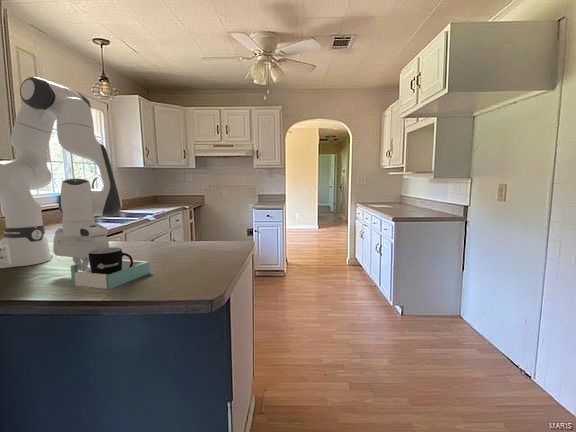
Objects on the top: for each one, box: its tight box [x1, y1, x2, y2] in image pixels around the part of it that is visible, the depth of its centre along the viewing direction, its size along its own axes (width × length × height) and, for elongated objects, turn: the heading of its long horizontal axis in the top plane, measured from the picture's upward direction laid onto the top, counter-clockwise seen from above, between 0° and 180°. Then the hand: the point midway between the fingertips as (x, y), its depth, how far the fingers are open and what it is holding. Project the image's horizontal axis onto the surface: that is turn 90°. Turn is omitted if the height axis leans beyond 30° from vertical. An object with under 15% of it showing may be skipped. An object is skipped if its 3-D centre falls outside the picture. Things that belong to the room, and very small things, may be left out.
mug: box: [89, 246, 134, 275], centre depth 102 cm, size 12×9×10 cm
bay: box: [70, 259, 151, 290], centre depth 104 cm, size 14×17×6 cm
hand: (82, 270), depth 108 cm, fingers closed
